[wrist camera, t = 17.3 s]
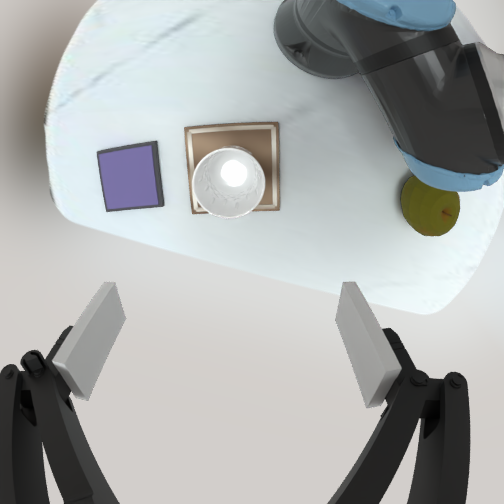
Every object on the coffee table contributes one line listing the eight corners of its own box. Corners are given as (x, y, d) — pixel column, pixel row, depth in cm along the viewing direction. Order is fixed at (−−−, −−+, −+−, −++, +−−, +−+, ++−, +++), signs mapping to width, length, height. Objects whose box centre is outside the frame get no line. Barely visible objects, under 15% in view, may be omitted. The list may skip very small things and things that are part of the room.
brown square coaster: (185, 127, 37) (183, 127, 35) (277, 122, 36) (278, 122, 35) (193, 212, 42) (191, 214, 41) (278, 208, 42) (279, 210, 41)
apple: (384, 176, 40) (420, 195, 30) (430, 159, 38) (471, 174, 28) (397, 229, 44) (429, 259, 34) (439, 211, 42) (475, 235, 32)
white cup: (237, 130, 36) (233, 133, 27) (272, 173, 39) (280, 190, 30) (194, 165, 38) (177, 180, 29) (229, 205, 41) (224, 232, 32)
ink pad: (99, 150, 37) (95, 152, 36) (156, 140, 37) (154, 141, 36) (108, 210, 42) (105, 212, 41) (164, 204, 42) (161, 207, 41)
